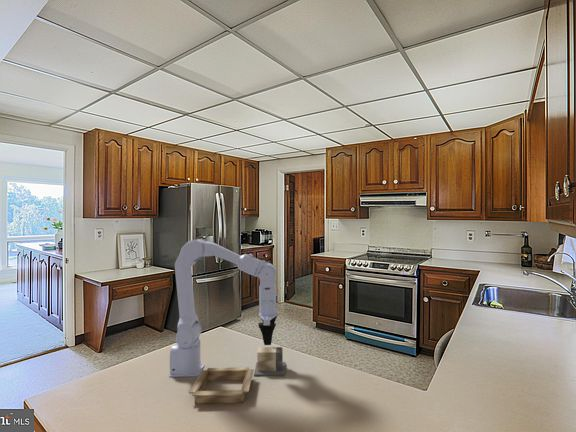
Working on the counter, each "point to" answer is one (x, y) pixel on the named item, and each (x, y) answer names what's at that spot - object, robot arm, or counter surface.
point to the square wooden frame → (219, 375)
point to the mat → (269, 372)
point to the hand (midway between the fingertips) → (268, 340)
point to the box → (270, 358)
